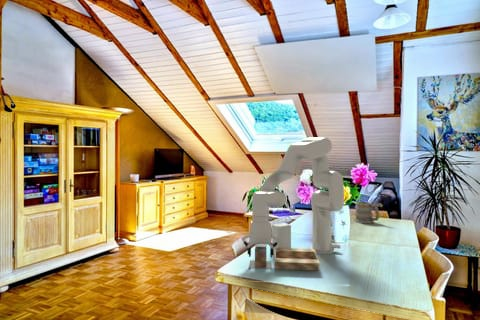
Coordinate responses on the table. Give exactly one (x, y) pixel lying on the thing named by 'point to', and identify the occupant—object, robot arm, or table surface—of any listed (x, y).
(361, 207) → the tankard
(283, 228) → the skincare box
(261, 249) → the block
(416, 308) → the table surface
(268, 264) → the coaster
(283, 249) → the wooden tray
